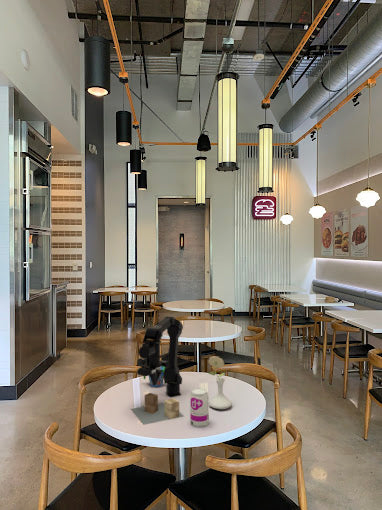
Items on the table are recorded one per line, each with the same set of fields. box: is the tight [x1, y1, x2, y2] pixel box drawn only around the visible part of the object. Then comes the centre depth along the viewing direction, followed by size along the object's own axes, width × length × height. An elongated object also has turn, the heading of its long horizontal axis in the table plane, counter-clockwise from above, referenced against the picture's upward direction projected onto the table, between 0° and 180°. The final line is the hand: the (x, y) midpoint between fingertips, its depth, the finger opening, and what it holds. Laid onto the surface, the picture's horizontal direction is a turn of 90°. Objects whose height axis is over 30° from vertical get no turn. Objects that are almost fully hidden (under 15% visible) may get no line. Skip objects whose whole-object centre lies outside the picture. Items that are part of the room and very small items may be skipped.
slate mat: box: [130, 402, 185, 426], centre depth 184 cm, size 20×20×1 cm
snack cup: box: [142, 366, 166, 388], centre depth 224 cm, size 16×10×10 cm
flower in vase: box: [208, 355, 233, 410], centre depth 191 cm, size 13×11×25 cm
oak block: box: [163, 397, 180, 420], centre depth 179 cm, size 5×5×7 cm
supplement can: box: [189, 388, 210, 428], centre depth 171 cm, size 8×8×15 cm
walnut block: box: [144, 392, 159, 414], centre depth 185 cm, size 4×5×8 cm
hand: (154, 385), depth 188 cm, fingers closed
